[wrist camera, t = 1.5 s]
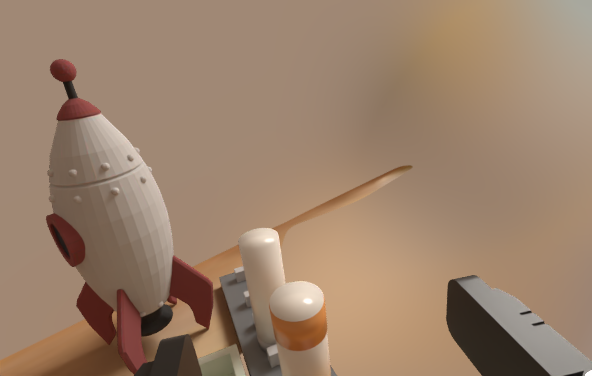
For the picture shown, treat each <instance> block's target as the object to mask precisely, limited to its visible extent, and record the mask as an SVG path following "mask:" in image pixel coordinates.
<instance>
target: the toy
mask: <svg viewBox="0 0 592 376" xmlns="http://www.w3.org/2000/svg"><path fill="white" fill-rule="evenodd" d="M50 71H51V74H52V75H53V77H54V78H55V79H57V80H59V81H61V82H63V84H64V87H65V90H66V92H67V95H68V98H69V99H68V100H67V101H66V102H65V103H64V104H63V105H62V107H61V109H60V111H59V113H58V115H57V120H58V123H57V127H56V132H55V136H54V140H53V145H52V149H51V153H50V165H49V168H50V170H48V175H49V182H50V186H49V187H50V195H51V196H50V197H49V200H50V202H51V203H52V207H53V212H54V214H51V215H48V216H47V217H46V220H47V224H48V227H49V230H50V232H51V235H52V237H53V239H54V241H55V243H56V245H57V247H58V248H59V250H60V252H61V254H62V255H63V257H64V258H65V259H66V261H67V262H68V263H69V264H70V265H71V266H72V267H76V268H77V270H78V271H79V273H80V274H81V276H82V277H83V278H84V280H85V281H86V282H85V284H84V286H83V288H82V291H81V293H80V295H79V298H78V299H77V305H76V306H77V307H78V309H79V310H80V312H81V313H82V315H83V316H84V318H85V319H86V321H87V322H88V323H89V325H90V326H91V327H92V328H93V329H94V330H95V331H96V332H97V333H98V334H99V335H100V336H101V337H102V338H103V339H104V340H105V341H106V342H107V343H108V344H109V345H110V343H111V342H112V340H113V338H114V337H115V335H116V333H117V339H118V351H119V354H120V356H121V357H122V359H123V361H124V362H125V364H126V365H127V367H128V369H129V370H130V371H131V372H132V373H133V374H134V375H135V373H136V372H137V371H138V369H139V368H140V367H141V365H142V364H143V363H147V360H146V358H145V355H144V352H143V348H142V343H141V337H143V336H149V335H152V334H155V333H157V332H159V331H161V330H162V329H163V328H165V327H166V326H167V325H168V324H169V322H170V321H171V319H172V316H173V312H172V309H171V307H170V306H168V305H165V304H164V303H165V302H166V301H168V302H170V303H172V304H177V298H178V299H180V300H181V301H183V302H185V303H187V304H188V305H189V306H190V308H191V309H192V311H193V313H194V317H195V320H196V322H197V323H199V324H200V325H202V326H204V327H206V328H208V329H209V325H210V320H211V314H212V309H213V283H212V282H211V281H210V280H209V279H208V278H207V277H206V276H204V275H203V274H201V273H200V272H198V271H197V270H195V269H194V268H192V267H191V266H189V265H188V264H186V263H185V262H183V261H182V260H180V259H178V258H177V257H175V256H174V255H173V241H172V231H171V227H170V222H169V217H168V213H167V209H166V206H165V204H164V201H163V198H162V195H161V192H160V190H159V188H158V186H157V184H156V182H155V180H154V178H153V176H152V174H151V172H152V168H151V167H147V165H146V164H145V162H144V161H142V158H141V157H140V155H139V152H140V151H139V149H138V148H134V147H133V146H132V145H131V143H130V142H129V141H128V139H127V138H126V137H125V136H124V135H122V134H121V133H120V132H119V131H118V130H117V129H116V128H115V127H114V126H113V125H112V124H111V123H110V122H109V121H108V120H107V119H106V118H105V117H104V116H103V115H102V114H101V111H100V110H99V109H97V108H96V107H95V106H93V105H92V104H91V103H89V102H87V101H85V100H82V99H80V98H78V97H77V94H76V92H75V89H74V86H73V84H72V80H74V78H75V77H76V69H75V67H74V65H73V64H72V63H70V62H69V61H66V60H63V59H59V60H55V61H54V62H53V63H52V64H51V66H50ZM113 311H117V332H116V330H115V327H114V325H113V322H112V313H113Z"/></svg>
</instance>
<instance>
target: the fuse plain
mask: <svg viewBox="0 0 592 376" xmlns="http://www.w3.org/2000/svg"><path fill="white" fill-rule="evenodd" d="M238 242H239V248H240V253H241V258H242V263H243V268H244V272H245V277H246V282H247V287H248V292H249V297H250V302H251V307H252V312H253V317H254V322H255V327H256V334H257V339H258V344H259V346H260V348H261V349H262V350H263V351H265V352H267V349H266V348H268V347H270V346H273V345H275V344H276V339H275V337H274V332H273V326H272V320H271V315H270V309H269V301H270V297H271V295H272V293H273V292H274V291H275V290H276V289H277V288H279V287H280V286H282V285H284V284H286V283H285V276H284V270H283V263H282V256H281V249H280V243H279V236H278V233H277V232H276V231H275V230H273V229H269V228H258V229H254V230H250V231H248V232H246V233H244V234H243V235H242V236H241V237H240V238H239V241H238Z"/></svg>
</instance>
